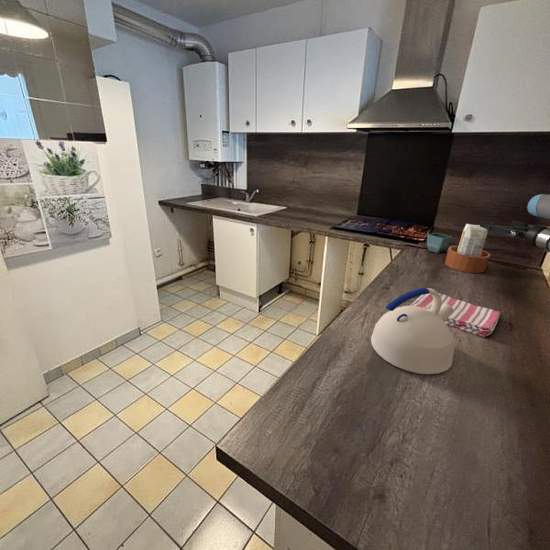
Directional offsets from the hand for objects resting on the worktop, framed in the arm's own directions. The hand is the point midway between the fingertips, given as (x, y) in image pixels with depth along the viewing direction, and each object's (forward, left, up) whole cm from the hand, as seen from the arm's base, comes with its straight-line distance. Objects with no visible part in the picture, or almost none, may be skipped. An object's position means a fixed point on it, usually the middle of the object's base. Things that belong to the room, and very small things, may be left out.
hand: (496, 223), depth 120 cm
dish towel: (+2, +48, -23) cm, 53 cm away
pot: (+7, -7, -23) cm, 25 cm away
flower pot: (+23, -22, -23) cm, 39 cm away
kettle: (+7, +77, -23) cm, 81 cm away
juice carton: (+7, -7, -23) cm, 25 cm away
